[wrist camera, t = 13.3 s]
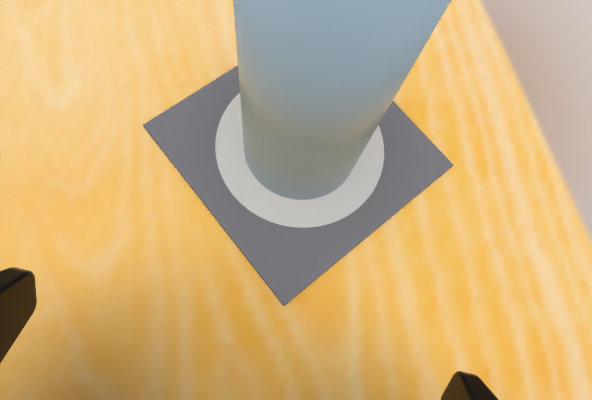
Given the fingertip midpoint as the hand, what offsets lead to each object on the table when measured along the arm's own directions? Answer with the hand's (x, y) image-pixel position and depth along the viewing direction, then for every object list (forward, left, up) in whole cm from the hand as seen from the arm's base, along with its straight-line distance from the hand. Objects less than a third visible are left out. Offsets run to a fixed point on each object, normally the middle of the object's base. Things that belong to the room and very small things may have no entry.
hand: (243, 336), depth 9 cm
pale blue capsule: (+7, +6, -10) cm, 13 cm away
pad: (+7, +6, -10) cm, 14 cm away
